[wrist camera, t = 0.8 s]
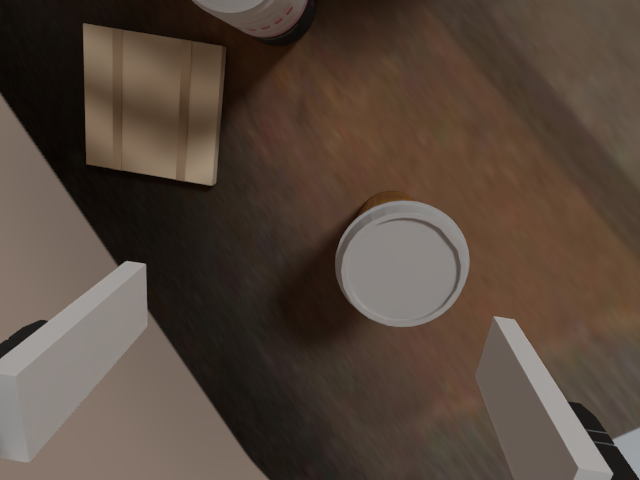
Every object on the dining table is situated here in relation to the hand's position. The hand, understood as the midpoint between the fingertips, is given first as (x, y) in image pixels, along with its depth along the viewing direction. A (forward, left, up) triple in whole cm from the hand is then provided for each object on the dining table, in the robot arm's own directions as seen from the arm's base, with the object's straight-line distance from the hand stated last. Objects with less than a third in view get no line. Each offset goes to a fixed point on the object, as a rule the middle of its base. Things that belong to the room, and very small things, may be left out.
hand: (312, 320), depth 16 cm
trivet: (-4, -18, -26) cm, 31 cm away
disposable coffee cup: (+3, +5, -26) cm, 26 cm away
